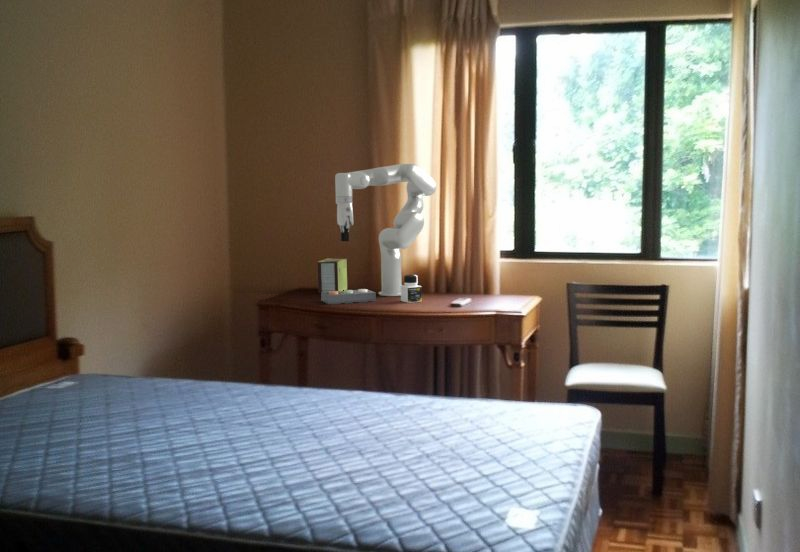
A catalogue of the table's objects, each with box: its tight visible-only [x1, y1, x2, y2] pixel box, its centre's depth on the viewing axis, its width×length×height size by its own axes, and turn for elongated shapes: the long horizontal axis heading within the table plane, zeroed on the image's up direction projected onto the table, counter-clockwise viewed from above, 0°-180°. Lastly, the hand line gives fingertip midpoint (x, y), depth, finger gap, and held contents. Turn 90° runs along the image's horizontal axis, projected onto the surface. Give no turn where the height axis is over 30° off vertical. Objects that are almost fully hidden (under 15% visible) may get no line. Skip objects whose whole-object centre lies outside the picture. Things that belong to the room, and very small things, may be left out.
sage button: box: [343, 289, 353, 293], centre depth 393 cm, size 4×4×3 cm
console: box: [320, 289, 377, 305], centre depth 393 cm, size 22×12×4 cm, turn 112°
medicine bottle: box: [400, 274, 423, 304], centre depth 389 cm, size 7×7×12 cm
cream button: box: [357, 288, 369, 292], centre depth 395 cm, size 4×4×3 cm
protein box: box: [317, 258, 348, 294], centre depth 427 cm, size 10×15×16 cm
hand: (345, 241), depth 393 cm, fingers closed
